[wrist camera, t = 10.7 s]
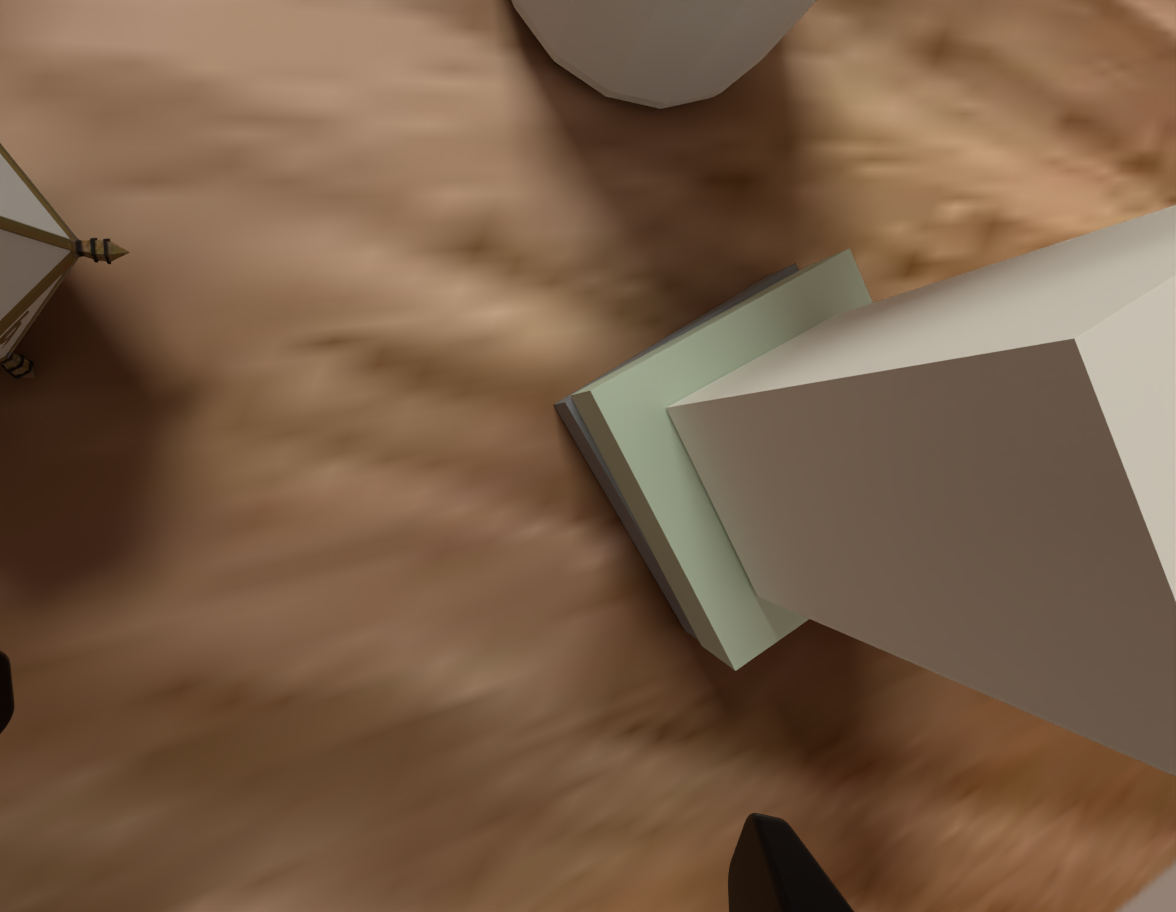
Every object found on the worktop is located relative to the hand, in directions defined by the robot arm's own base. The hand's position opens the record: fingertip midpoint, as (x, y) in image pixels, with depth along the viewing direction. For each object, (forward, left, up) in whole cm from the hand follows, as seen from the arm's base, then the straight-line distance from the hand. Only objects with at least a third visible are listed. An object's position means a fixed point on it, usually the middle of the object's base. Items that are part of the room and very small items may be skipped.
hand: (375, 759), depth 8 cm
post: (+10, -5, -8) cm, 14 cm away
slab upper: (+10, -5, -10) cm, 16 cm away
